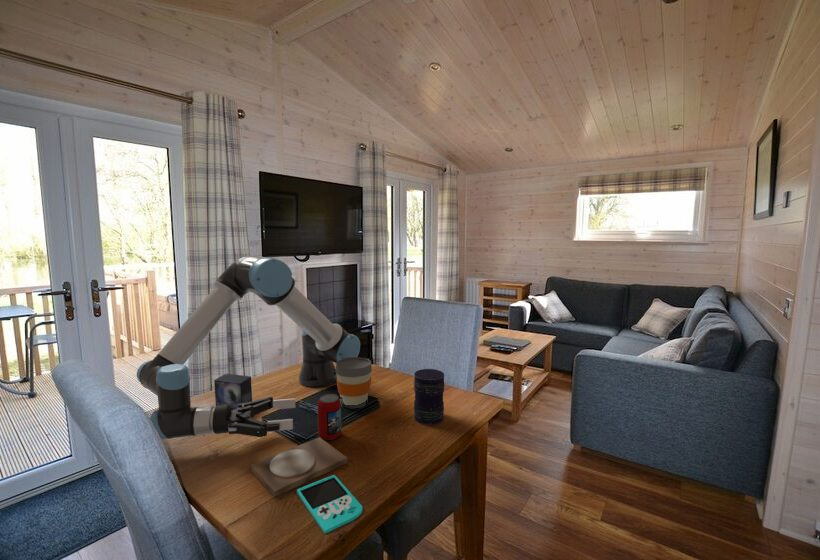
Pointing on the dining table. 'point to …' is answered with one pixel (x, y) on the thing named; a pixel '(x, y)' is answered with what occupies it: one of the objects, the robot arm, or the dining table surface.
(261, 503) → the dining table surface
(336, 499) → the handheld game console
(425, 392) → the dark blue cylinder
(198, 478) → the dining table surface
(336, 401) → the beverage can
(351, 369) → the reusable coffee cup
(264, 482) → the drinks board
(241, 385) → the small box
